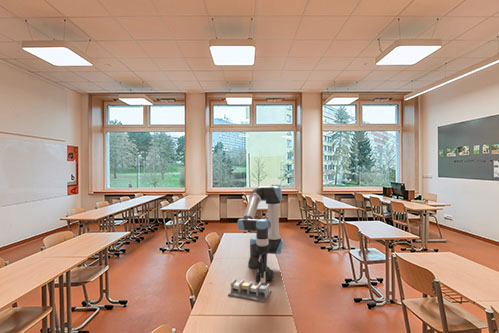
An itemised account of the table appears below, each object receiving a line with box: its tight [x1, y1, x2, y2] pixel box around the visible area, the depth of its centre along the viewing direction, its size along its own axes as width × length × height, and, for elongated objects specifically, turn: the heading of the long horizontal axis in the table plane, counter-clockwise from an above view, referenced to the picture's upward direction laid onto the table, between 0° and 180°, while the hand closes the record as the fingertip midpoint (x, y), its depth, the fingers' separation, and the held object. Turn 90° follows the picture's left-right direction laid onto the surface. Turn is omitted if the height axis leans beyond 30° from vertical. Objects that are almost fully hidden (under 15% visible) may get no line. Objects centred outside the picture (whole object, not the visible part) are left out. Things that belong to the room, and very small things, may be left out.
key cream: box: [233, 281, 240, 289], centre depth 167 cm, size 4×4×2 cm
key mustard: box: [241, 281, 250, 289], centre depth 165 cm, size 4×4×2 cm
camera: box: [254, 265, 275, 283], centre depth 182 cm, size 13×10×10 cm
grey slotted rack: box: [227, 277, 272, 303], centre depth 164 cm, size 14×24×6 cm, turn 68°
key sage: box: [250, 284, 257, 292], centre depth 163 cm, size 4×4×2 cm
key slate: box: [259, 284, 267, 293], centre depth 161 cm, size 4×4×2 cm
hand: (263, 282), depth 160 cm, fingers closed
